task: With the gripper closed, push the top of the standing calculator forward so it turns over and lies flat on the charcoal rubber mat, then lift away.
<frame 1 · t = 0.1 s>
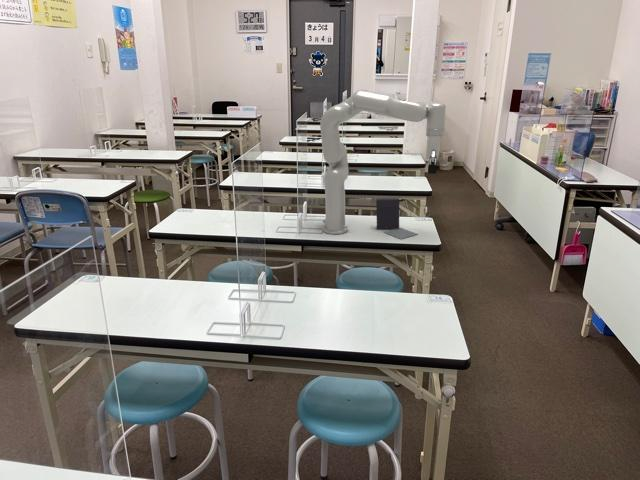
hand: (432, 171, 213), 31 cm above the table, tool pointing down, fingers open, 9 cm apart
calculator: (387, 228, 236), on the table, touching mat
mat: (400, 233, 229), on the table
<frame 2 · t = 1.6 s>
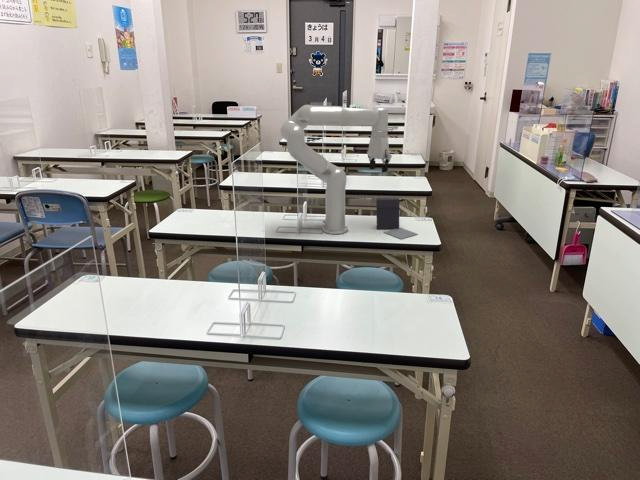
hand: (378, 170, 232), 28 cm above the table, tool pointing down, fingers open, 8 cm apart
nothing on the table moved.
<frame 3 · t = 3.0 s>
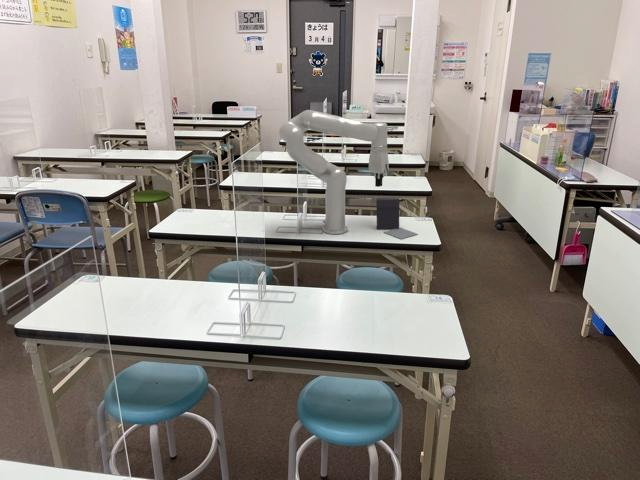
hand: (378, 186, 235), 20 cm above the table, tool pointing down, fingers closed
nothing on the table moved.
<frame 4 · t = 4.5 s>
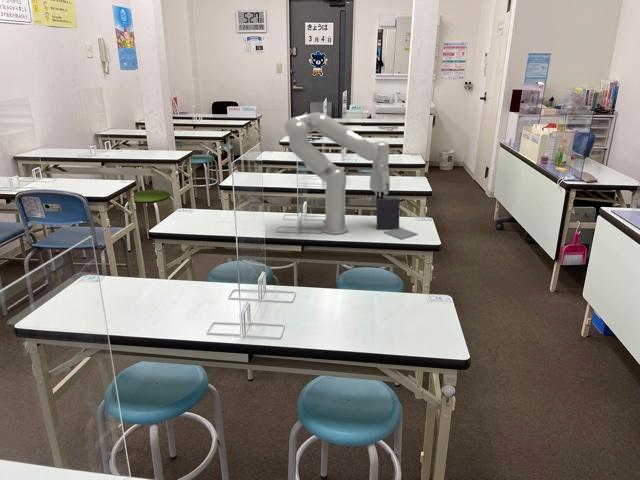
hand: (379, 204, 237), 11 cm above the table, tool pointing down, fingers closed
nothing on the table moved.
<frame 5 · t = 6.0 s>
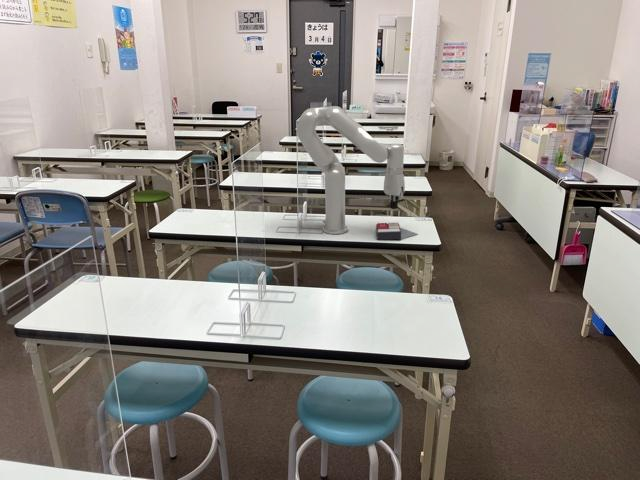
hand: (393, 208, 230), 11 cm above the table, tool pointing down, fingers closed
calculator: (387, 226, 234), point 2 cm above the table, touching mat
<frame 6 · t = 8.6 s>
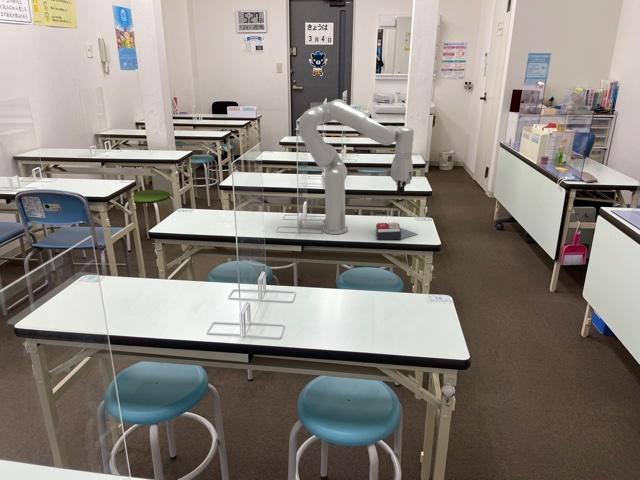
hand: (400, 194, 223), 19 cm above the table, tool pointing down, fingers closed
nothing on the table moved.
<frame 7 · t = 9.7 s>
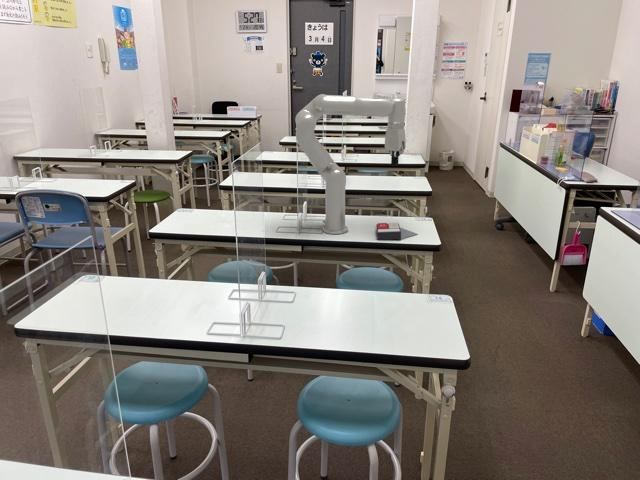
hand: (394, 164, 229), 31 cm above the table, tool pointing down, fingers closed
nothing on the table moved.
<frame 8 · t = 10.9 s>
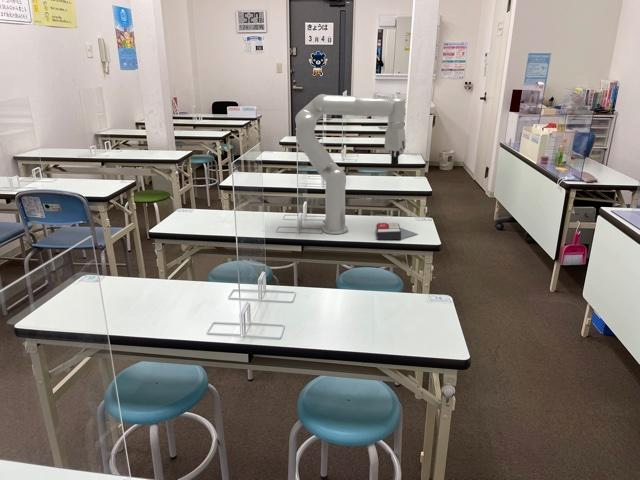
hand: (394, 164, 230), 31 cm above the table, tool pointing down, fingers closed
nothing on the table moved.
at the end: calculator tilted 87°; calculator inside the target area (3.5 cm from its centre), point 1.8 cm above the table; calculator touching mat, table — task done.
